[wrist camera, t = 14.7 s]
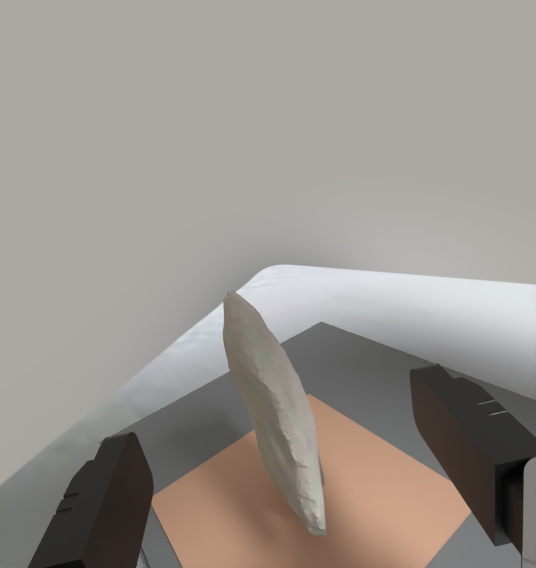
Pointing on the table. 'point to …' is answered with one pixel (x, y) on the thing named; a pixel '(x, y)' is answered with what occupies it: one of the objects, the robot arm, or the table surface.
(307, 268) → the table surface
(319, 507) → the arrowhead
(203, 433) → the mat
